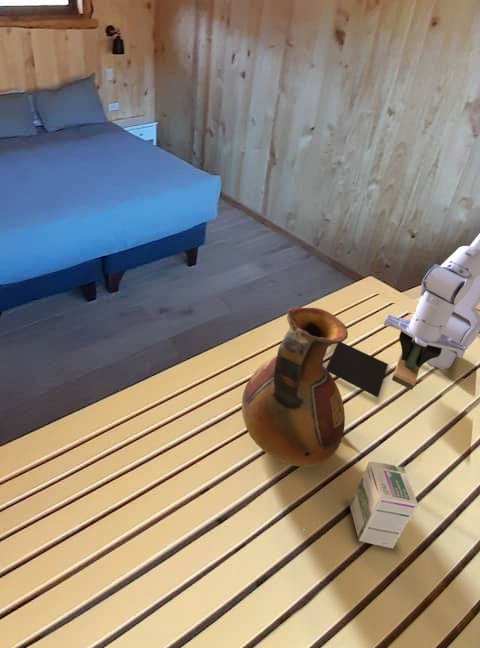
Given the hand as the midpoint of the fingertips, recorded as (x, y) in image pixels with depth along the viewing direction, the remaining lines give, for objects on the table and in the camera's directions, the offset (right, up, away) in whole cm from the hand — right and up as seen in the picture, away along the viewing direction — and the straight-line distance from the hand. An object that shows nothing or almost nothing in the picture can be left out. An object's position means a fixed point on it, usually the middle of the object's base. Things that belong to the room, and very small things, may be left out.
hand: (410, 360), depth 93 cm
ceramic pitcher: (-31, -13, -5) cm, 34 cm away
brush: (0, -3, +2) cm, 4 cm away
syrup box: (-22, -21, -21) cm, 37 cm away
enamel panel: (-8, -6, +8) cm, 13 cm away
